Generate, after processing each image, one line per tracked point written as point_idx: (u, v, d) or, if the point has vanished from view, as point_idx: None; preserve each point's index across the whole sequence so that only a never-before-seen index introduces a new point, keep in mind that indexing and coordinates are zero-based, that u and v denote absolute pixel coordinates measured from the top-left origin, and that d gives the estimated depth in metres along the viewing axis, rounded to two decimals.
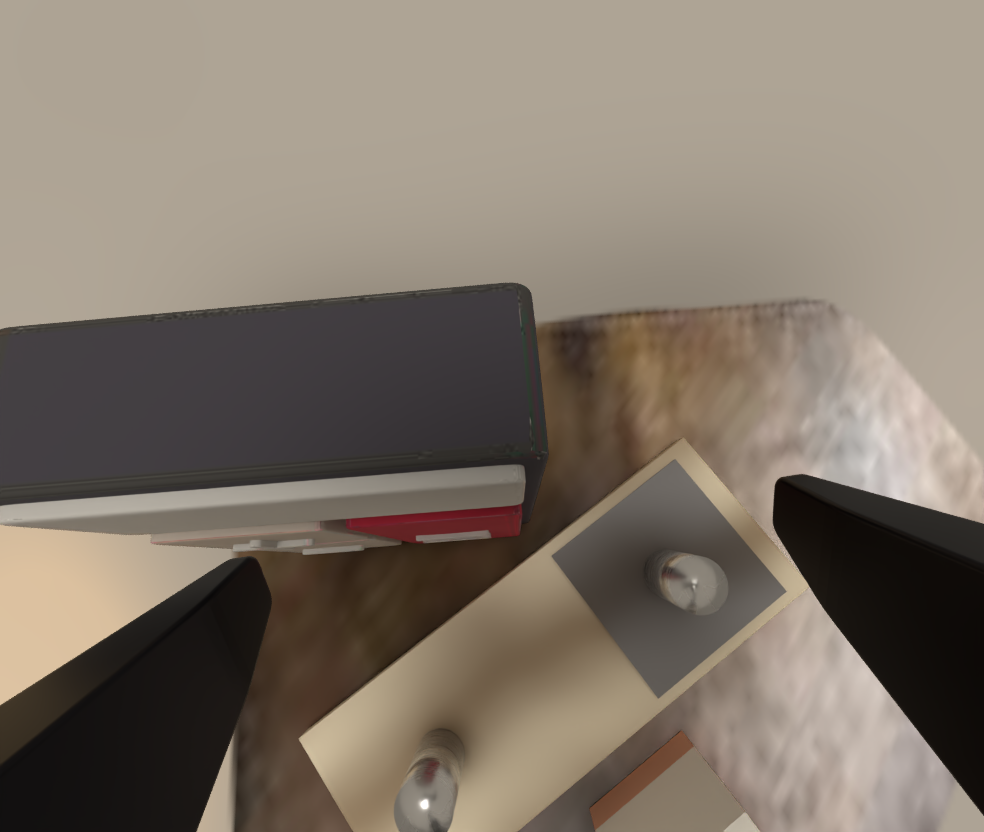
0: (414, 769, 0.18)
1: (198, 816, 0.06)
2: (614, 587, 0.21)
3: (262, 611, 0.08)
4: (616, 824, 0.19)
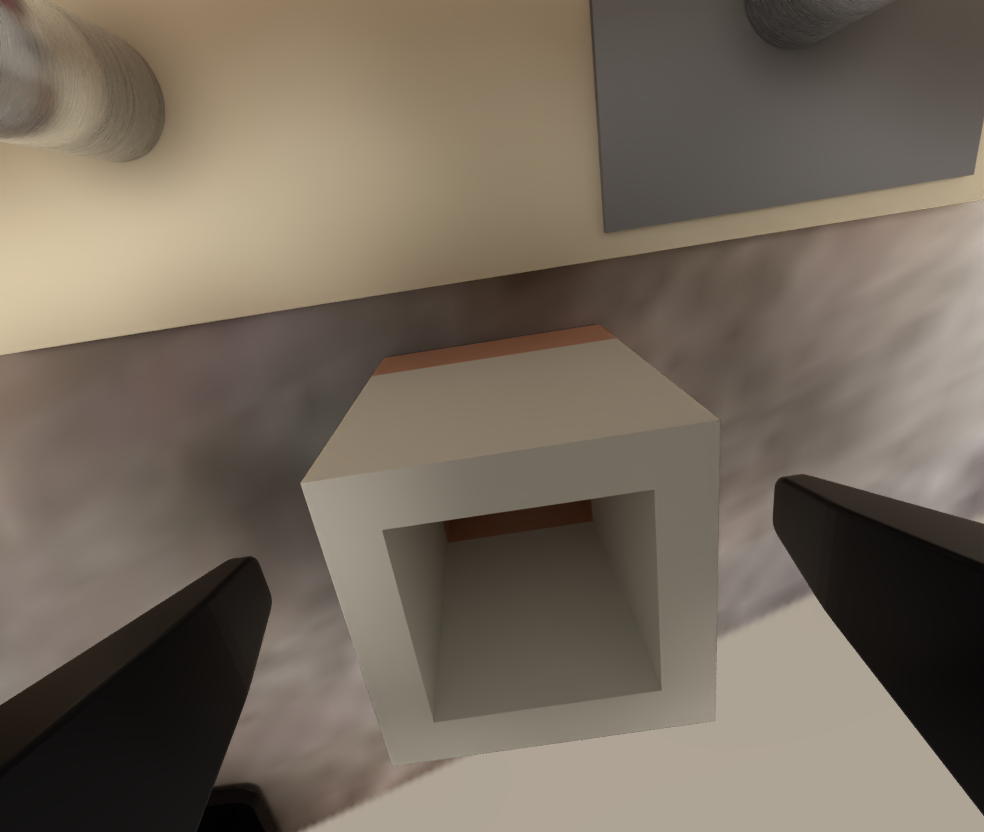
0: None
1: (197, 817, 0.06)
2: None
3: (262, 611, 0.08)
4: (412, 377, 0.10)
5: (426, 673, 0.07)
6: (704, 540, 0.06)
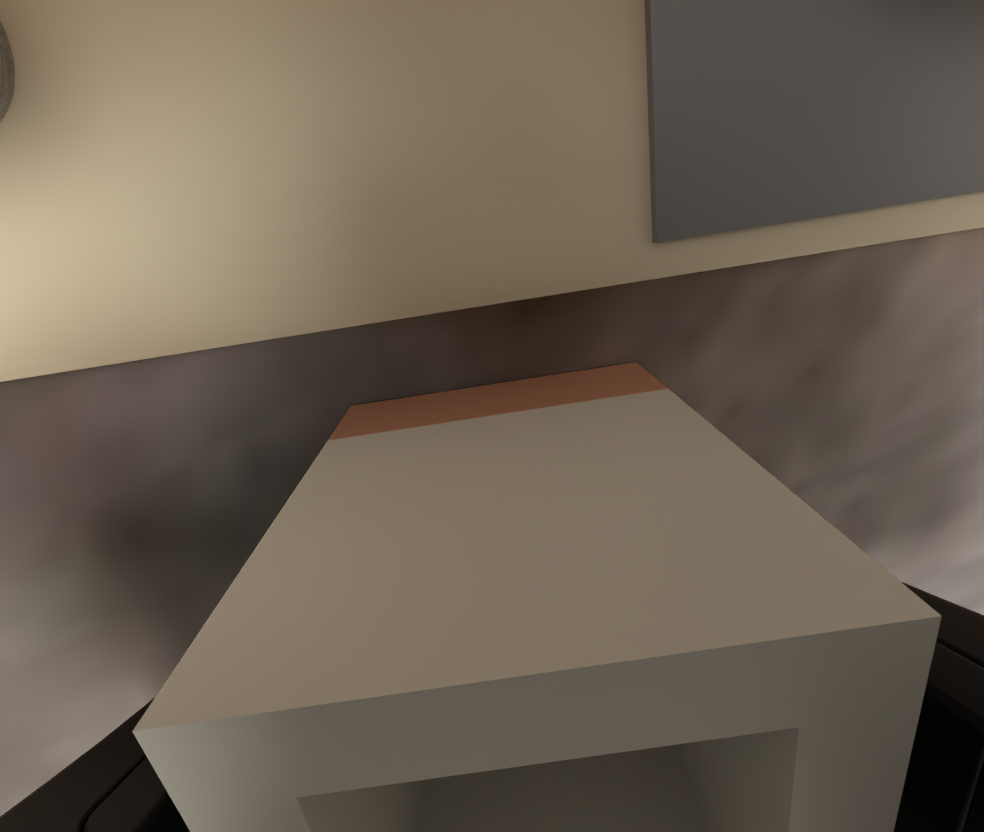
0: None
1: None
2: None
3: None
4: (381, 448, 0.07)
5: None
6: (876, 798, 0.04)
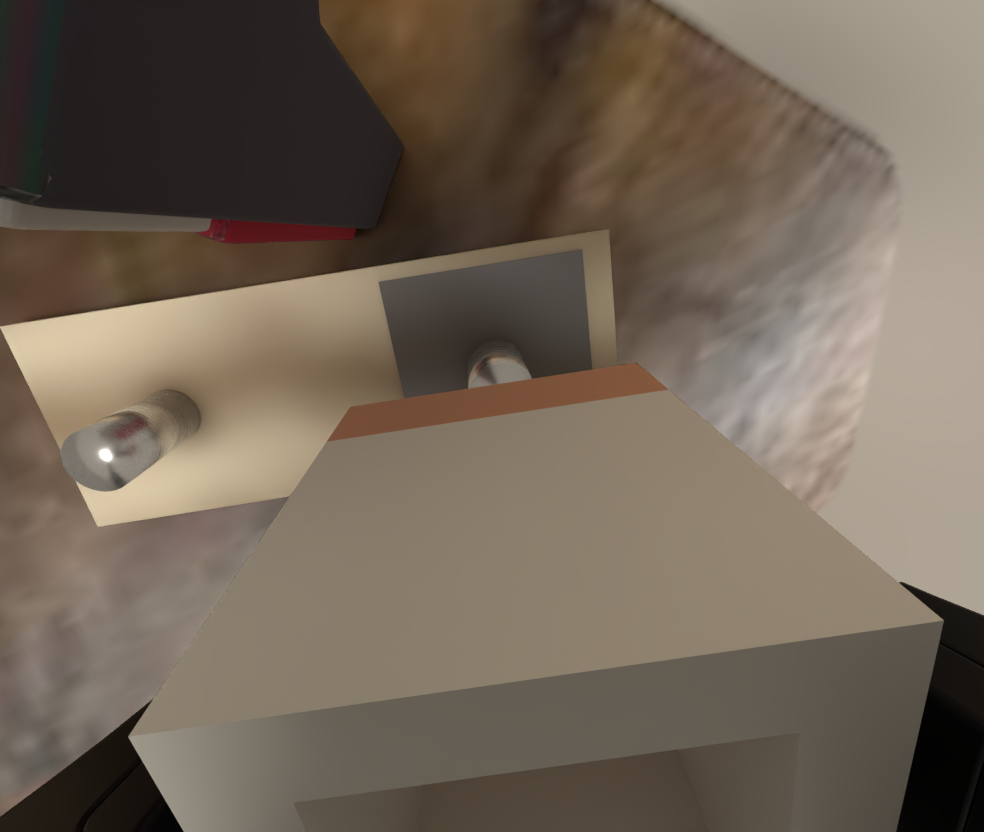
0: (106, 420, 0.15)
1: None
2: (432, 350, 0.18)
3: None
4: (380, 450, 0.07)
5: None
6: (878, 804, 0.04)
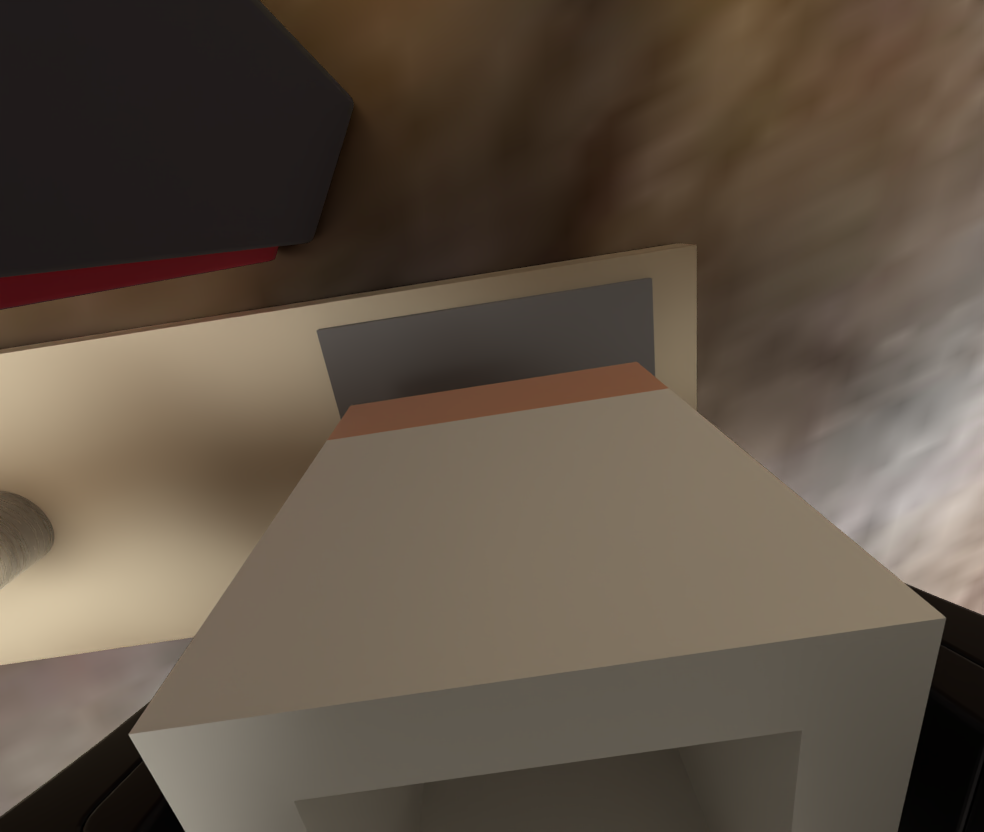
0: None
1: None
2: None
3: None
4: (381, 448, 0.07)
5: None
6: (879, 801, 0.04)
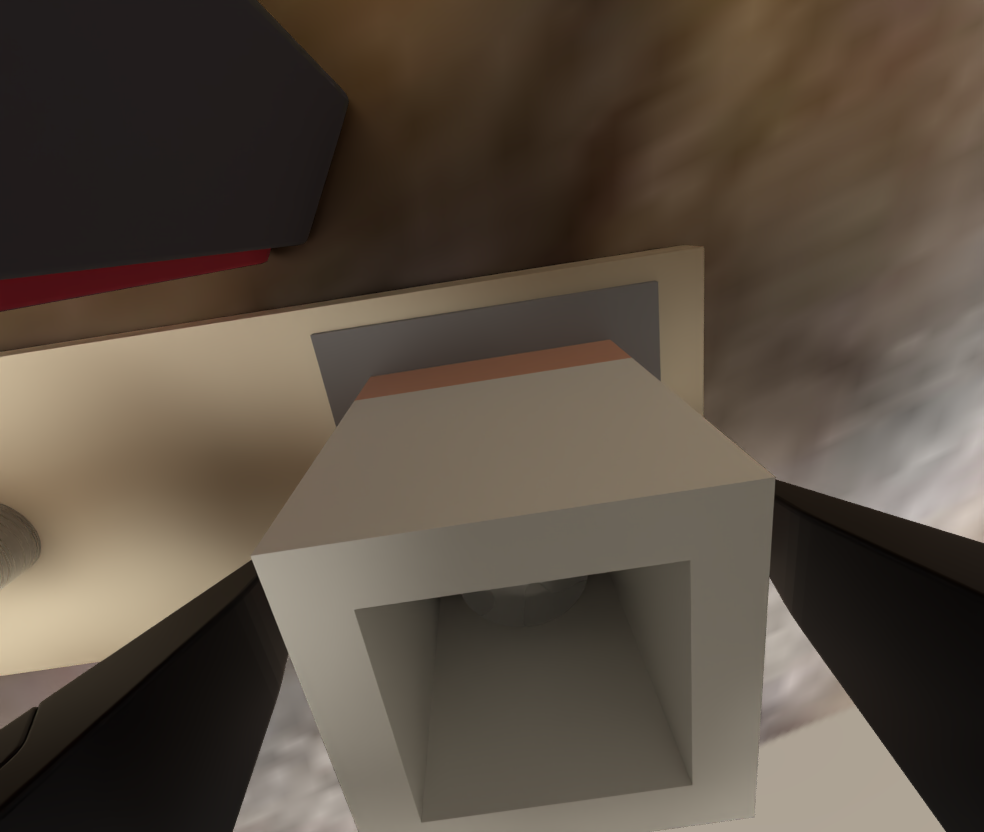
0: None
1: (235, 811, 0.06)
2: None
3: None
4: (399, 404, 0.08)
5: (412, 764, 0.06)
6: (749, 618, 0.05)
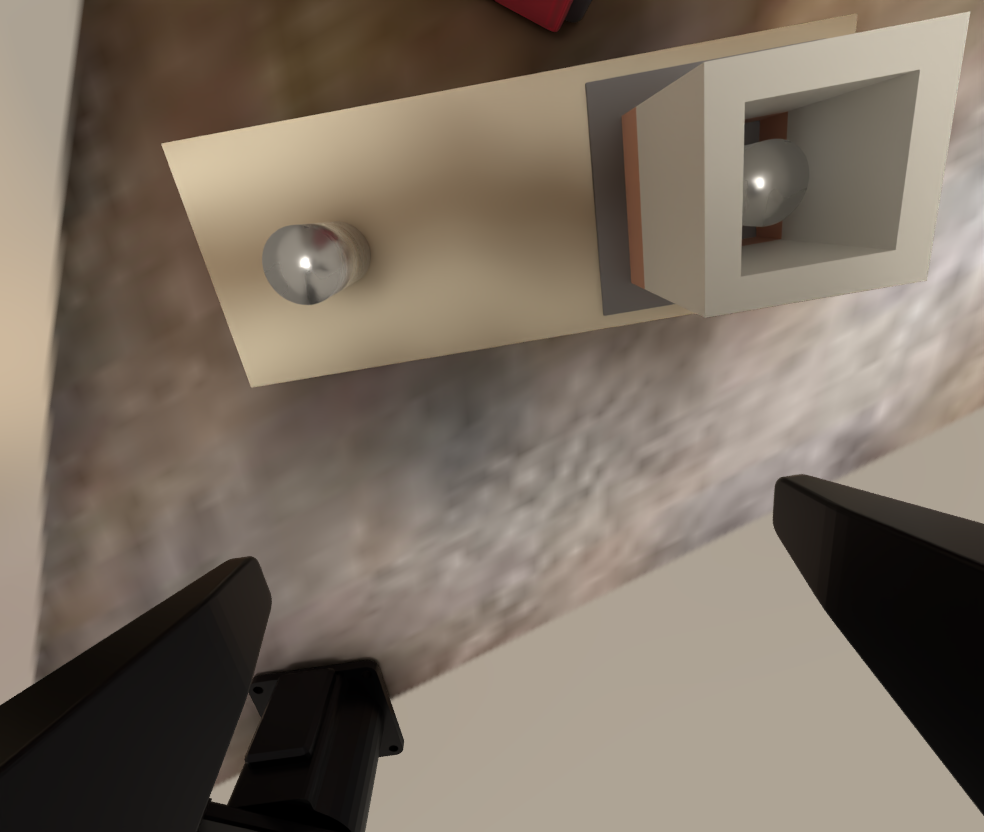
0: None
1: (197, 816, 0.06)
2: None
3: (262, 611, 0.08)
4: None
5: None
6: (944, 113, 0.10)
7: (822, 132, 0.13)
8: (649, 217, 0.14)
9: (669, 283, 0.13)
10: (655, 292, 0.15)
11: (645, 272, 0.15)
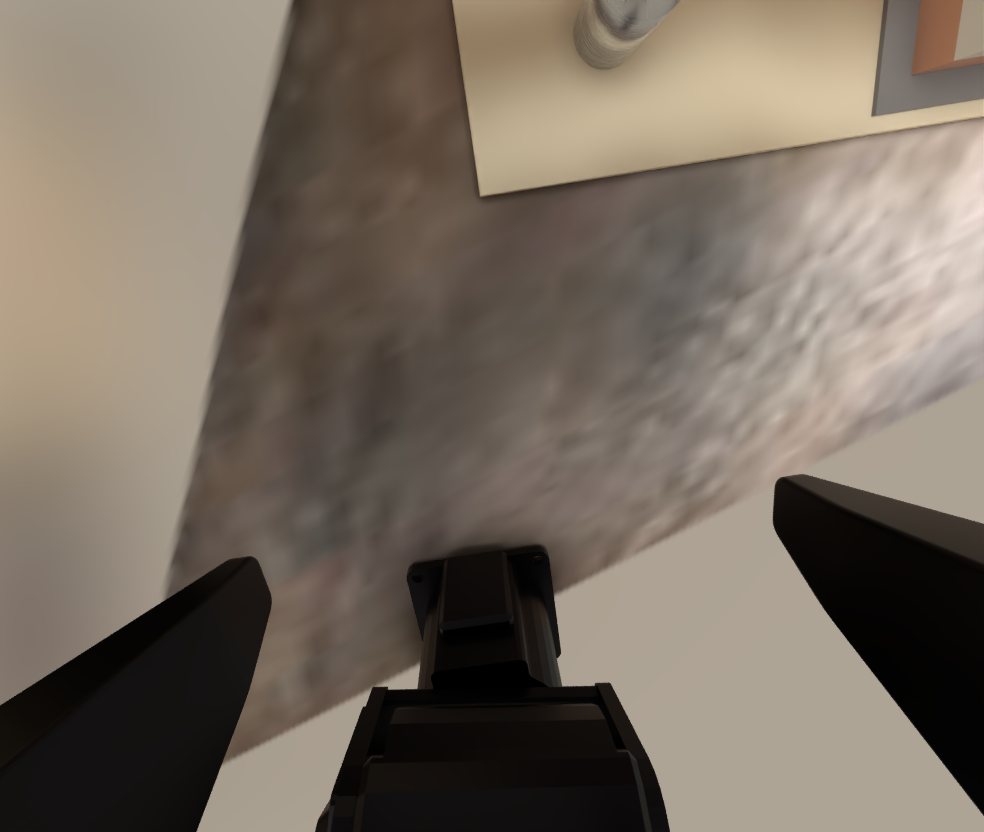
0: None
1: (197, 817, 0.06)
2: None
3: (262, 611, 0.08)
4: None
5: None
6: None
7: None
8: None
9: None
10: None
11: (962, 36, 0.14)
